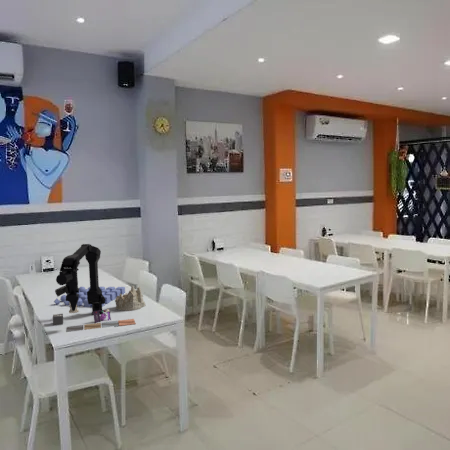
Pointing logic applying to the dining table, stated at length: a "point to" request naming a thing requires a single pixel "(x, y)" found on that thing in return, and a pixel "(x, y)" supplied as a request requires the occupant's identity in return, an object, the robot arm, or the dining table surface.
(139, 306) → the sand castle
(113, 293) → the blocks
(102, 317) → the game card
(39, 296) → the dining table surface
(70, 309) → the pawn
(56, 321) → the die
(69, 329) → the game board
